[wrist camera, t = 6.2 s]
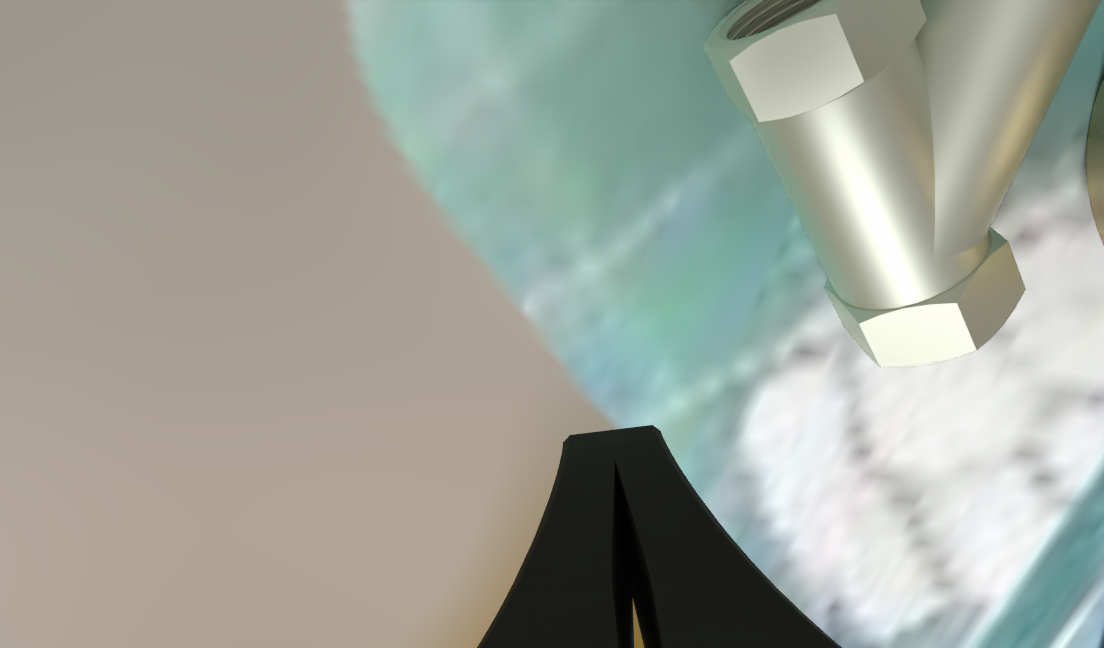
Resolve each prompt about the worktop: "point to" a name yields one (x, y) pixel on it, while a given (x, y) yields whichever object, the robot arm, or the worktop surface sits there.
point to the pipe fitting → (902, 148)
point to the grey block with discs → (1096, 162)
